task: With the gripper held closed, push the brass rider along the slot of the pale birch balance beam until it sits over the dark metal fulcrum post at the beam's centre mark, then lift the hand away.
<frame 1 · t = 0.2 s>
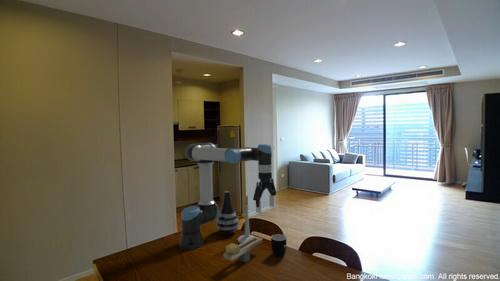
hand: (265, 209, 145), 28 cm above the table, fingers open, 13 cm apart
candlestick: (247, 240, 171), on the table
beam: (244, 259, 145), on the table
vase: (227, 233, 184), on the table
rider: (232, 250, 137), point 9 cm above the table, slide at -9.5 cm
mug: (279, 253, 152), on the table
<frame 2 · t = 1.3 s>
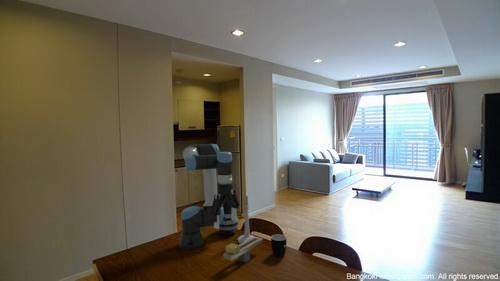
hand: (225, 224, 131), 25 cm above the table, fingers open, 13 cm apart
nothing on the table moved.
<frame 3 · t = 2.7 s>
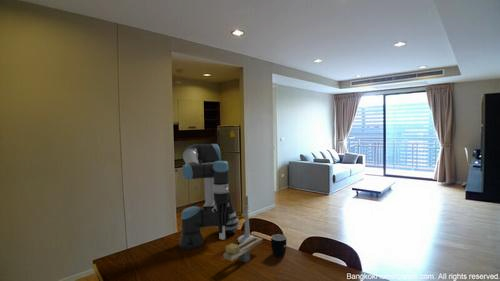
hand: (222, 238, 130), 18 cm above the table, fingers closed
nothing on the table moved.
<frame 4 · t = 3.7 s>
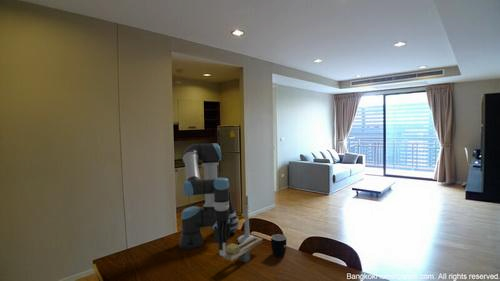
hand: (222, 255, 131), 9 cm above the table, fingers closed
nothing on the table moved.
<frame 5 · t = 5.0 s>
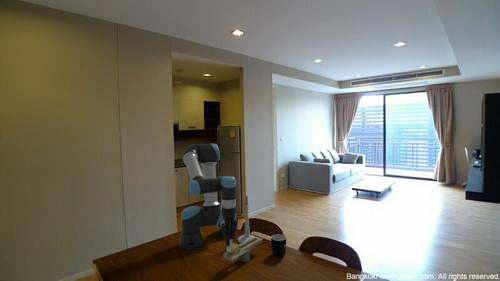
hand: (229, 251, 135), 9 cm above the table, fingers closed
rider: (233, 250, 137), point 9 cm above the table, slide at -8.8 cm, touching gripper
everything else where it was.
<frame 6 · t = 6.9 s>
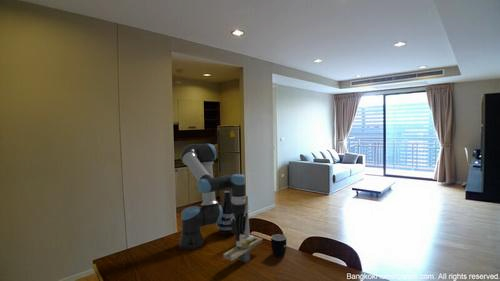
hand: (239, 245, 141), 9 cm above the table, fingers closed
rider: (243, 244, 144), point 9 cm above the table, slide at -0.8 cm, touching gripper
everything else where it was.
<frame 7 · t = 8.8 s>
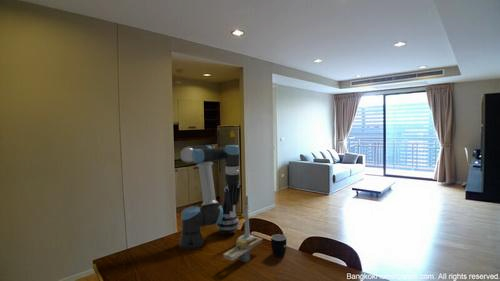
hand: (232, 216, 141), 26 cm above the table, fingers closed
rider: (243, 244, 144), point 9 cm above the table, slide at -0.8 cm
everything else where it was.
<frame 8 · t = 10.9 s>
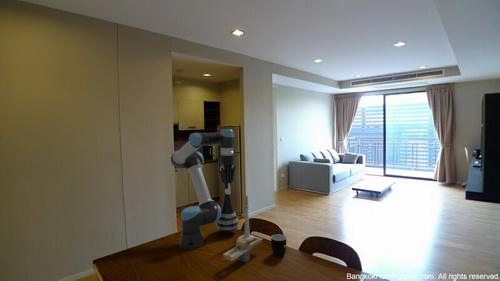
hand: (227, 193, 156), 34 cm above the table, fingers closed
nothing on the table moved.
at the end: rider slide at -0.8 cm; the gripper is holding nothing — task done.
